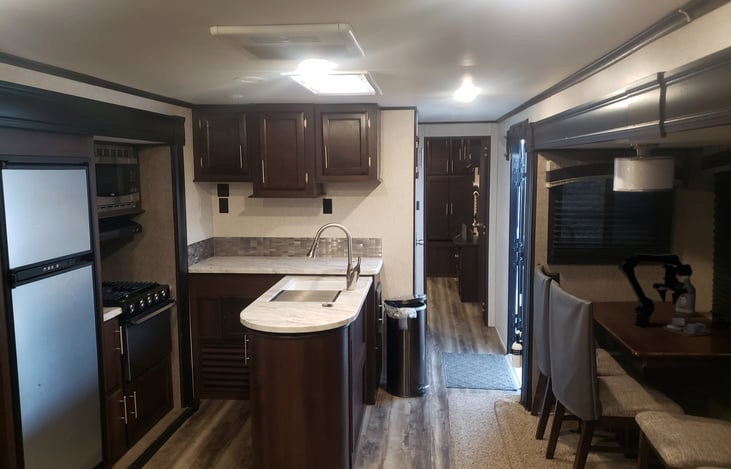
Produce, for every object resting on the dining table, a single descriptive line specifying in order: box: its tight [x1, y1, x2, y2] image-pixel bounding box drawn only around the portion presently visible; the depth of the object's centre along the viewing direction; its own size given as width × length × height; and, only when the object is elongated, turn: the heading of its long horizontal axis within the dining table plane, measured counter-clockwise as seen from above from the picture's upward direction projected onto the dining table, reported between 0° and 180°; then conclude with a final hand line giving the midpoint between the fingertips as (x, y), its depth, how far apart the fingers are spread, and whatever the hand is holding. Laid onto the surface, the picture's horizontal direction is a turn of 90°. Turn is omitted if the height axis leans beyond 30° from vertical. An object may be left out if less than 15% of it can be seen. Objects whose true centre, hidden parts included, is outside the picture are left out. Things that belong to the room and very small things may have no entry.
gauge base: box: [662, 322, 709, 338], centre depth 288 cm, size 14×16×6 cm
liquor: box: [674, 276, 697, 318], centre depth 321 cm, size 9×9×30 cm
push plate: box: [667, 317, 686, 327], centre depth 293 cm, size 10×3×4 cm, turn 107°
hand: (669, 303), depth 299 cm, fingers open, 7 cm apart
